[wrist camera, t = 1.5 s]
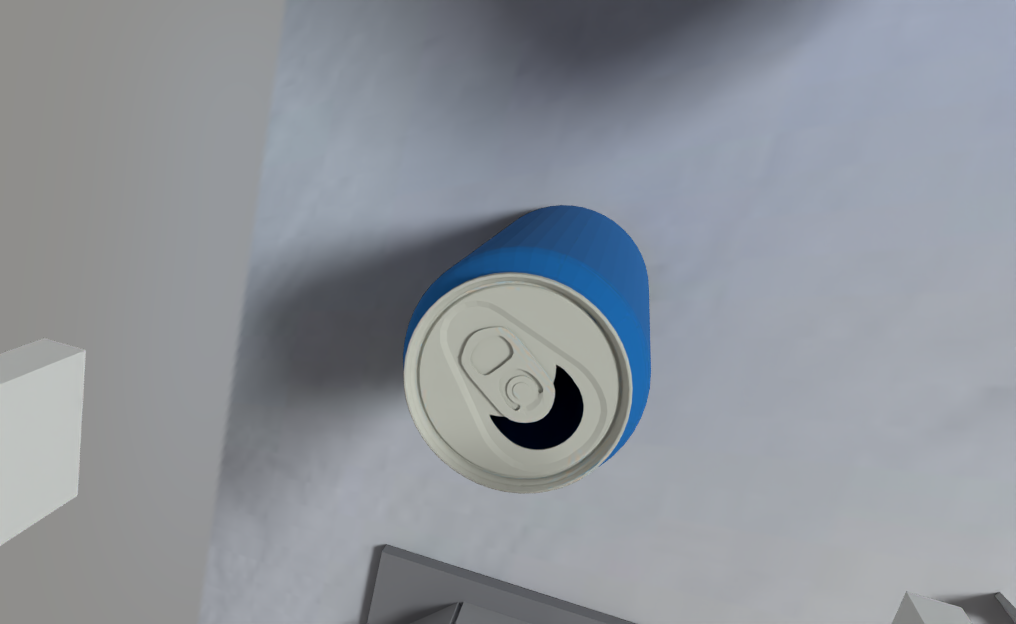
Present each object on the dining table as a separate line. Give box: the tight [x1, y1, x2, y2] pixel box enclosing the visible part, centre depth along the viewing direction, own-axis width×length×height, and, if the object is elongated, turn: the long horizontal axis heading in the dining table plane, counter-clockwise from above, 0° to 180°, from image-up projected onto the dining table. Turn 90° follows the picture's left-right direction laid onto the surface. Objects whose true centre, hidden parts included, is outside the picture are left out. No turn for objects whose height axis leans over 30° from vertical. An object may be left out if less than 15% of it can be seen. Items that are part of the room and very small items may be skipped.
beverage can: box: [403, 205, 651, 493], centre depth 23 cm, size 6×6×12 cm
